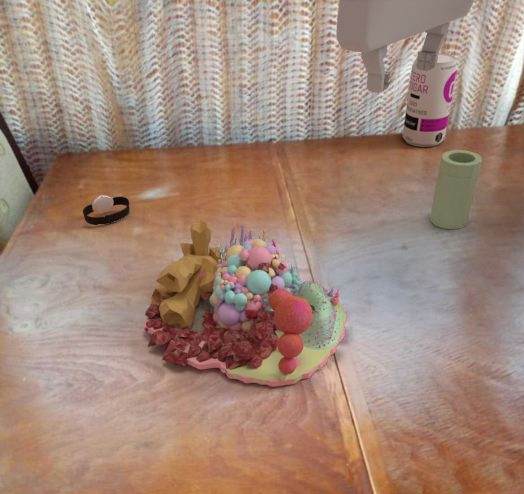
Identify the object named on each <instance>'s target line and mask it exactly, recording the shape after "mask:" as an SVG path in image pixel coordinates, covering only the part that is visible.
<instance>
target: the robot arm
mask: <svg viewBox="0 0 524 494" xmlns="http://www.w3.org/2000/svg"><path fill="white" fill-rule="evenodd" d="M474 2H475V0H339V1H338V8H337V19H336V40H337V43H338V45H339V47H340V48H341V50H345V51H351V52H356V53H361V60H362V62H363V65H364V68H365V71H366V73H367V78H366V89H367V90H368V92H371V93H374V94H375V93H377V94H379V93H381V92H383V91H385V90H387V89H388V88H389V85H390V83H389V81H390V76H391V72H390V71H386V67H385V62H384V58H385V57H387V55H388V54H387V53H388V46H389V45H391V44H394V43H396V42H399V41H402V40H404V39H408V38H410V37H413V36H416V35H418V34H421V33H424V32H425V33H426V35H425V39H424V41H423V45H422V48H421V50H420V51H418V52H417V56H416V59H417V60H418V61H417V64H416V67H417V69H418V70H424V71H428V70H431V69H433V68H435V67H436V65H437V59H438V53H440V51H441V49H442V46H443V44H444V42H445V39H446V37H447V35H448V33H449V27H450V23H451V22H454V21H456V20H459V19H461V18H464V17H466V16H467V15H468V14H469V12H470V10H471V8H472V6H473V4H474Z"/></svg>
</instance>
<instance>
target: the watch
mask: <svg viewBox="0 0 524 494" xmlns="http://www.w3.org/2000/svg"><path fill="white" fill-rule="evenodd" d="M114 206H125V207H124V208H123V209H121V210H119V211H116V212H114V213H111V214H106V215H104V216H89V215H91V214H92V213H97V214H105V213H104V212H106V213H107V211H108V212H109V211H110V210H111V209H112V208H113V207H114ZM130 211H131V209H130V200H129V198H127V197H125V196H114V197H111V196H108V195H105V194H104V195H103V194H100V195H99V196H97V197H96V198H95V199H94V201H92V203H90V204H88V205H85V207H84V208H83V209H82V214H83V217H84V221H85V222H86V223H87V224H89V225H92V226H99V225H98V224H105V225H107V224H106V223H110V224H112V223H111V222H114V221H116V222H118V221H120V220H122V219H124V218H126V217H127V216H128V215H129V213H130ZM125 216H126V217H125ZM121 218H122V219H121ZM119 219H120V220H119ZM114 223H115V222H114Z"/></svg>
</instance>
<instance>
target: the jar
mask: <svg viewBox="0 0 524 494" xmlns="http://www.w3.org/2000/svg"><path fill="white" fill-rule="evenodd" d="M482 162H483V158H482V156H481V155H480V154H478V153H476V152H474V151H470V150H465V149H453V150H448V151H445V152H443V153H442V154H441V157H440V162H439V168H438V173H437V178H436V183H435V188H434V189H435V190H434V194H433V200H432V203H431V204H432V205H431V210H430V217H429V220H430V222H431V224H433V225H434V226H435V227H437V228H439V229H440V228H441V229H445V230H458V229H462V228H464V227H465V226H466V225H467V223H468V220H469V216H470V212H471V209H472V205H473V204H472V203H473V200H474V196H475V192H476V187H477V183H478V180H479V175H480V170H481V166H482Z"/></svg>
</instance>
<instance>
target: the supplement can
mask: <svg viewBox="0 0 524 494" xmlns="http://www.w3.org/2000/svg"><path fill="white" fill-rule="evenodd" d="M417 61H418V60H417V58H416V59H415V60H414V61H413V64H412V65H411V71H410V78H409V85H408V91H407V92H408V93H407V100H406V109H405V115H404V121H403V130H402V138H403V140H404V141H405V142H406V143H407V144H408V145H411V146H414V147H421V148H430V147H436V146H438V145H440V144H441V143H442V142H444V140H445V139H446V133H447V129H448V125H449V124H448V123H449V118H450V112H451V107H452V101H453V96H454V91H455V86H456V81H457V75H458V70H459V67H458V63H457V57H456V56H454V55H453V54H449V53H442V52H439V53H438V59H437V65H436V67H435V68H433V69H431V70H428V71H424V70H418V69H417V67H416V64H417Z"/></svg>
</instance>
